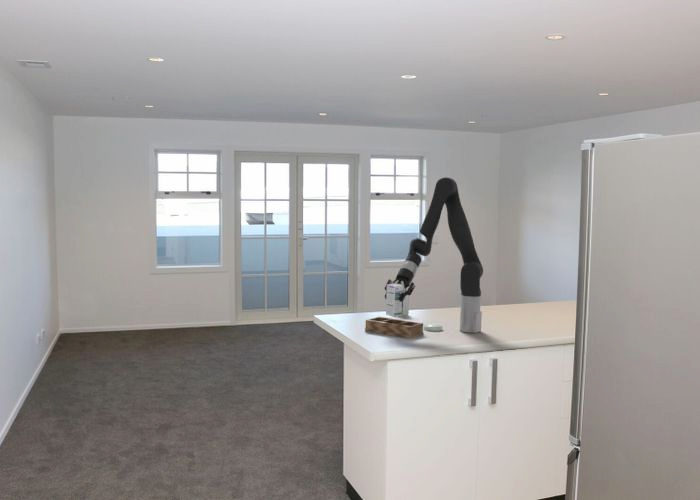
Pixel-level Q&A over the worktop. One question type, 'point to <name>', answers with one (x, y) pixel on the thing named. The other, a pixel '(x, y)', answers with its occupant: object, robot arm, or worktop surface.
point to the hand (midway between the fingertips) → (393, 299)
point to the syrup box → (394, 300)
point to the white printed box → (406, 305)
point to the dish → (433, 327)
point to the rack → (394, 327)
